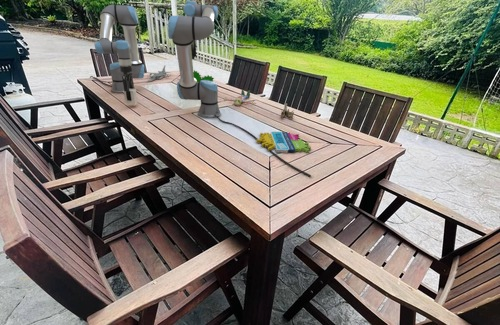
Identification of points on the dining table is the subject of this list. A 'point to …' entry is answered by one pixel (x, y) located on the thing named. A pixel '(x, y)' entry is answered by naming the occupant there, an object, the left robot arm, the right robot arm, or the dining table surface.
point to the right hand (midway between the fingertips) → (193, 57)
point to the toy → (241, 99)
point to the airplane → (158, 75)
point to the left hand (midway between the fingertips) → (131, 98)
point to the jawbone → (287, 112)
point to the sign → (283, 142)
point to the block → (133, 97)
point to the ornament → (198, 78)
